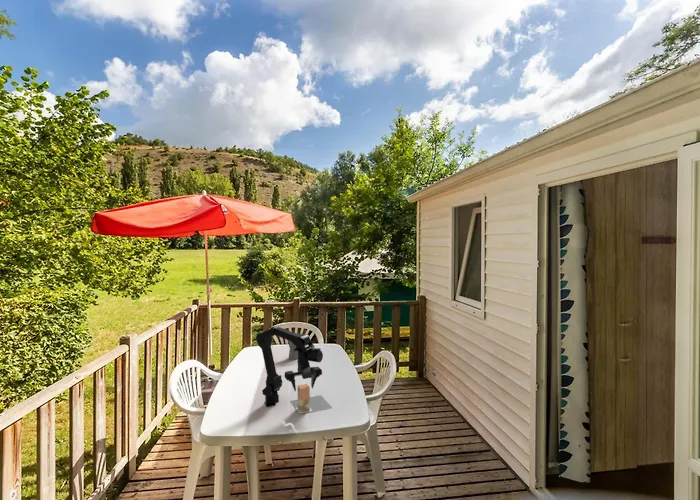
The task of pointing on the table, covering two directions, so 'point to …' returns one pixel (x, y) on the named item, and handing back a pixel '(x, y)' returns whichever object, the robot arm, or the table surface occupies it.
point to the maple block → (304, 405)
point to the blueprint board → (313, 405)
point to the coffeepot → (292, 351)
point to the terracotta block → (303, 392)
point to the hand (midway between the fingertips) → (303, 389)
